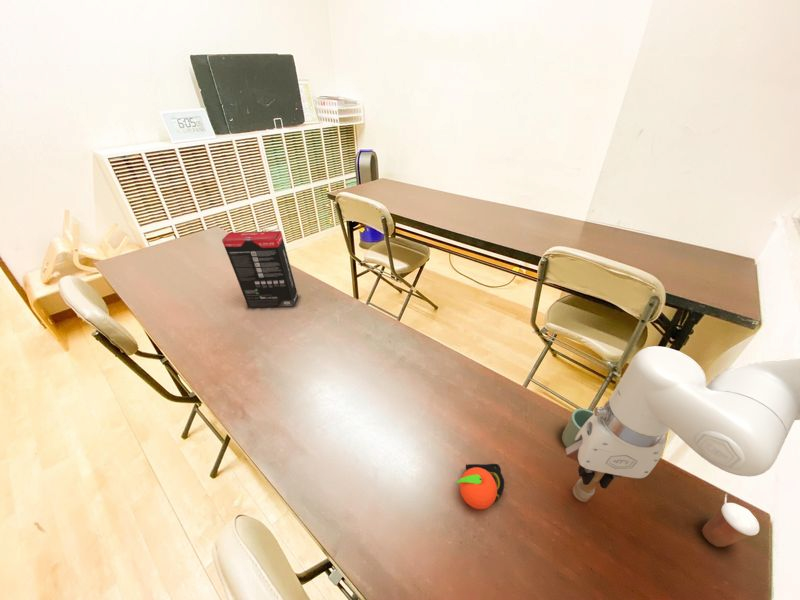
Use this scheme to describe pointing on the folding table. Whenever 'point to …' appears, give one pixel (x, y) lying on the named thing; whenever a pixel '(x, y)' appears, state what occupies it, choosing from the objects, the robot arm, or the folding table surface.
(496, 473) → the tape measure
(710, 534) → the milkshake
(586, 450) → the robot arm
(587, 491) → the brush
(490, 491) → the clementine
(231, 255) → the graphics card box
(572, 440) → the cup
